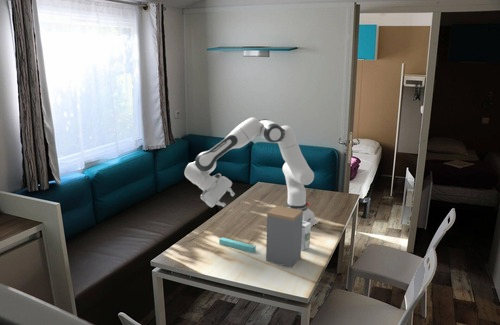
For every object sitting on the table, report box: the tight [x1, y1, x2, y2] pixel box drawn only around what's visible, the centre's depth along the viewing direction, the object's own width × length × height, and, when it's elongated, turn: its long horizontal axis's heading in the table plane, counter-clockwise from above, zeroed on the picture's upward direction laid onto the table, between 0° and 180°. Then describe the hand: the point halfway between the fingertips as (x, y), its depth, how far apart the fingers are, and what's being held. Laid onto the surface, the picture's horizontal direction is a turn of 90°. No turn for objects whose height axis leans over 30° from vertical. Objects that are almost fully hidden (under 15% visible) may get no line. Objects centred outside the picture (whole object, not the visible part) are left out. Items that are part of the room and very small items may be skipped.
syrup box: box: [301, 221, 312, 252], centre depth 230 cm, size 6×6×14 cm
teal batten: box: [218, 236, 257, 254], centre depth 231 cm, size 21×3×3 cm, turn 61°
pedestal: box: [265, 205, 303, 268], centre depth 215 cm, size 14×12×26 cm
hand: (229, 200), depth 232 cm, fingers open, 8 cm apart
